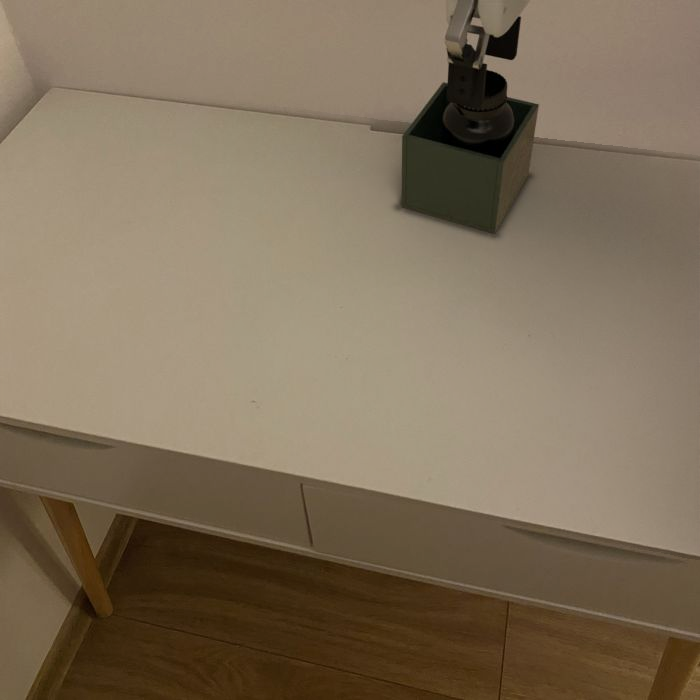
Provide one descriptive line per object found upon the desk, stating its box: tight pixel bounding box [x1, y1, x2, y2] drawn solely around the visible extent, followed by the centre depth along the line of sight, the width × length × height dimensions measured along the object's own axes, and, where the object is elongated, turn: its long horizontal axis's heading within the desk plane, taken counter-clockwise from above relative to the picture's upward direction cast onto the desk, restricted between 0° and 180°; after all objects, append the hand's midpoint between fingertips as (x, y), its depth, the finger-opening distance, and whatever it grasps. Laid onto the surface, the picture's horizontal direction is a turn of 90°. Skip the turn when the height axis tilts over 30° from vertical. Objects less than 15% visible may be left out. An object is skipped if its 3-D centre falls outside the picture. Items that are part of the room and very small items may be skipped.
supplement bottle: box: [441, 69, 515, 158], centre depth 78 cm, size 7×7×12 cm
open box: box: [400, 81, 540, 235], centre depth 81 cm, size 10×10×8 cm
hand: (482, 78), depth 74 cm, fingers open, 7 cm apart
